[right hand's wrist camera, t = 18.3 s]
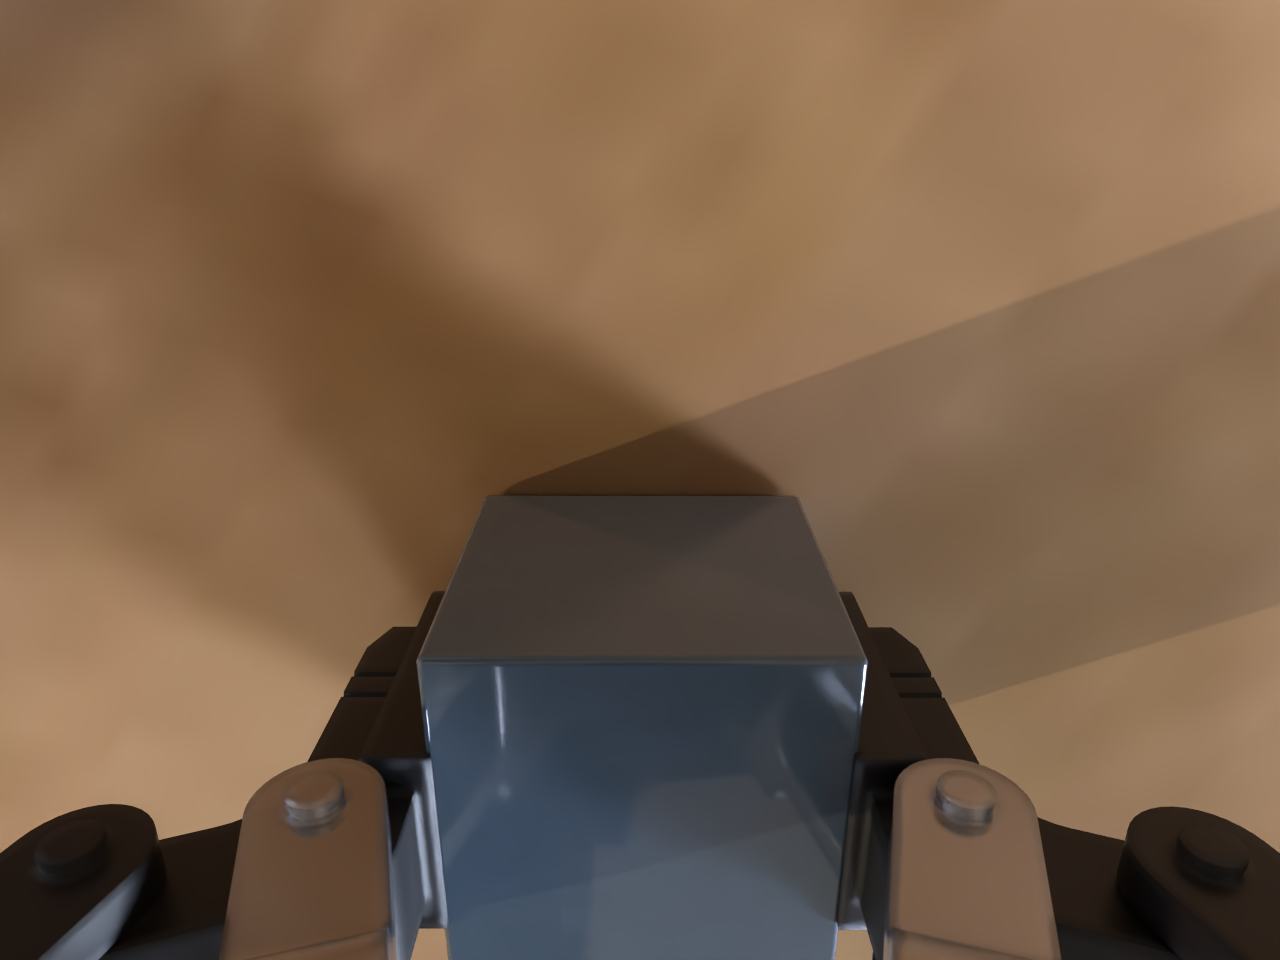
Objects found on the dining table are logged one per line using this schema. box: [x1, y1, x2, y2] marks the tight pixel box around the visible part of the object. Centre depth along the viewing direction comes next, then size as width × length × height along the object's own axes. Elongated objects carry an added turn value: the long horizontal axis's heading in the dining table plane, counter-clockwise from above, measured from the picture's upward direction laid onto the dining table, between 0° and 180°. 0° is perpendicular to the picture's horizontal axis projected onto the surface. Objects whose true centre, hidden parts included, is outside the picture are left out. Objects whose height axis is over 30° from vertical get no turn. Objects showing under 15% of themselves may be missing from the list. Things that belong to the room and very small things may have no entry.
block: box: [416, 496, 868, 960], centre depth 11 cm, size 4×4×4 cm
